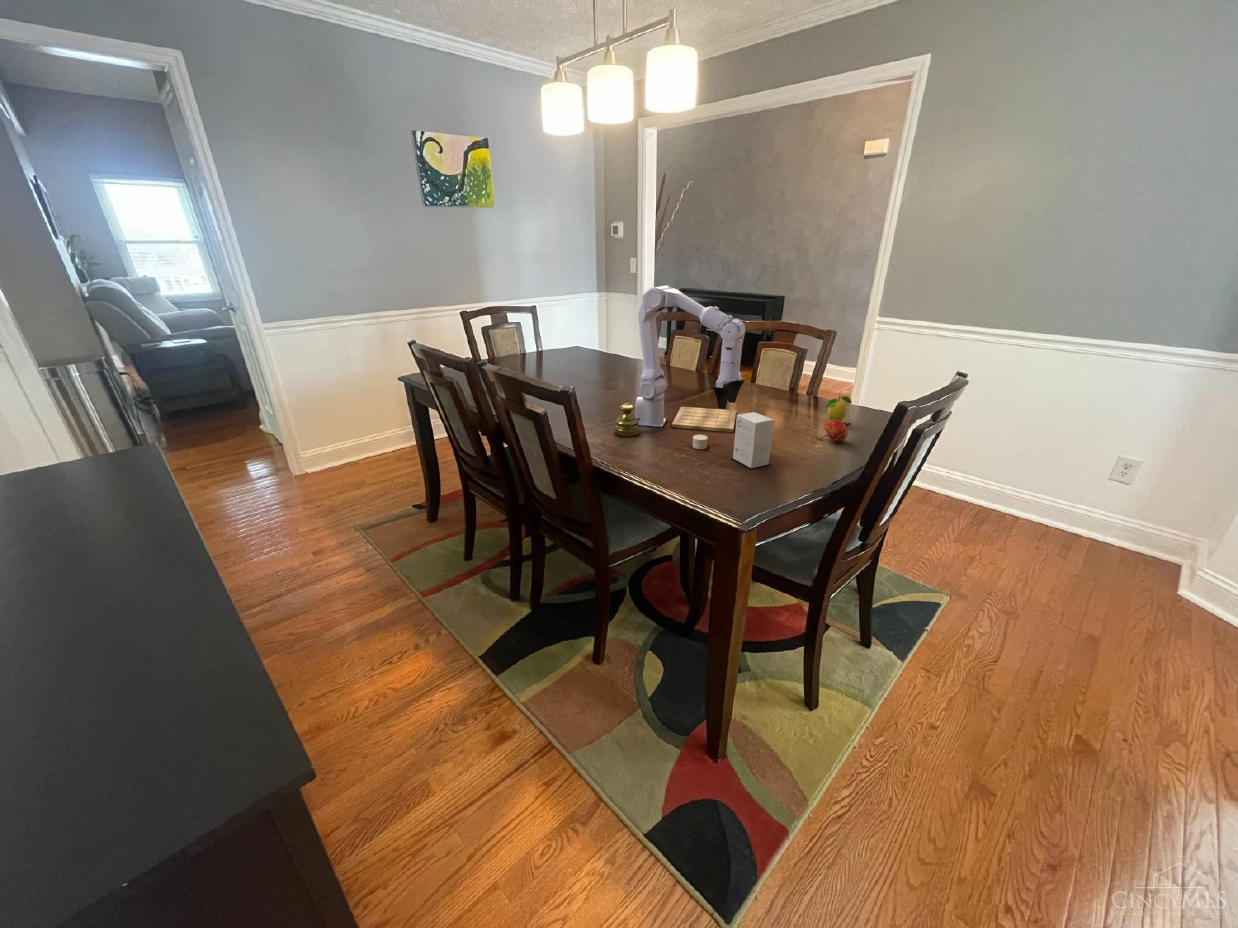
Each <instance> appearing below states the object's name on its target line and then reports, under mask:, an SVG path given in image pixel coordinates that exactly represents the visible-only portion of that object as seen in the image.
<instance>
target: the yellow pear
mask: <svg viewBox="0 0 1238 928" xmlns="http://www.w3.org/2000/svg"><path fill="white" fill-rule="evenodd" d="M838 395H839V396H838V398H832V399H830V400H828V401H827V403H825V406H824V408H825V409H826V408H827V409H828V410H827V417H828V418H829V420H831V419H837V420H841V421H843V420H844V419H845V418H846V415H847V408H846V405H845V403H846V404H849V405H851V404H853V401H852V399H851V398H850V397H849V396H841V394H838ZM841 399H842V401H843V402H842V401H841ZM844 402H845V403H844Z"/></svg>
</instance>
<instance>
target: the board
mask: <svg viewBox="0 0 1238 928" xmlns="http://www.w3.org/2000/svg"><path fill="white" fill-rule="evenodd" d="M736 419H737V410H736V409H735V410H733V409H720V408H706V407H705V408H704V407H690V406H689V407H688V406H680V408H679V410H678V412H677V413H676V415H675V417H674V419H673V421H672V423H671V428H676V429H687V430H688V429H689V430H702V431H712V432H725V433H734V430H735V429H734V428H735V425H736Z"/></svg>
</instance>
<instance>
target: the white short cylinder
mask: <svg viewBox="0 0 1238 928" xmlns="http://www.w3.org/2000/svg"><path fill="white" fill-rule="evenodd" d="M708 439H709V436H707V435H705V434H695V435H693V436H692V443H691V444H692V445H691V446H692V448H693V449H696V450H705V449H707V448H708Z"/></svg>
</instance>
